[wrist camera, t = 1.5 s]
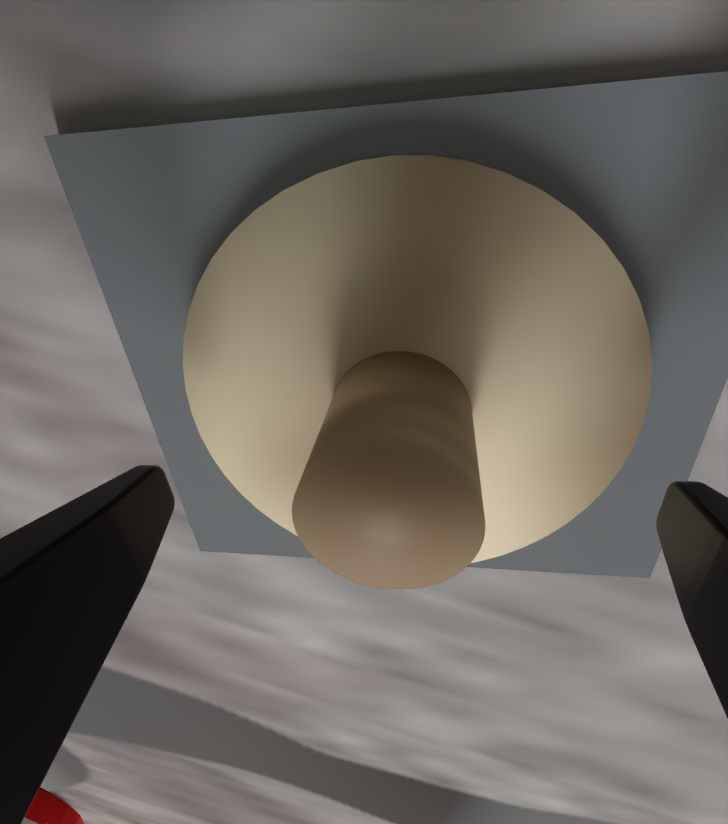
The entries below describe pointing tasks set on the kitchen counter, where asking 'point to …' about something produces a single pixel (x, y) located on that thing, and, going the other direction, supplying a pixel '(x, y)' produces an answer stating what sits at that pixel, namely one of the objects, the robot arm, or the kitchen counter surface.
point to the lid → (416, 365)
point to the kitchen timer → (50, 811)
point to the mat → (456, 138)
